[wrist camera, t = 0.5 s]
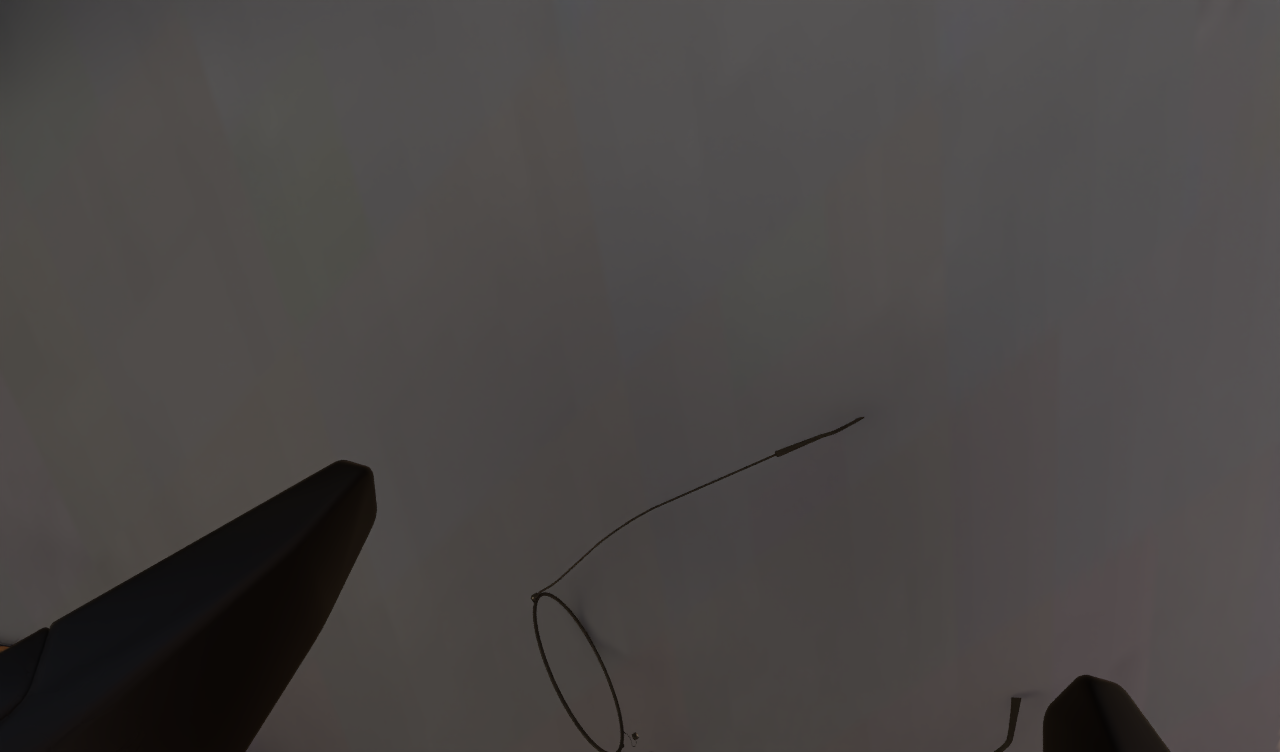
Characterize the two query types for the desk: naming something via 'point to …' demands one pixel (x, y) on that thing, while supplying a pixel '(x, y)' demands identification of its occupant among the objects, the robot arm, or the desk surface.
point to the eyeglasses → (535, 597)
